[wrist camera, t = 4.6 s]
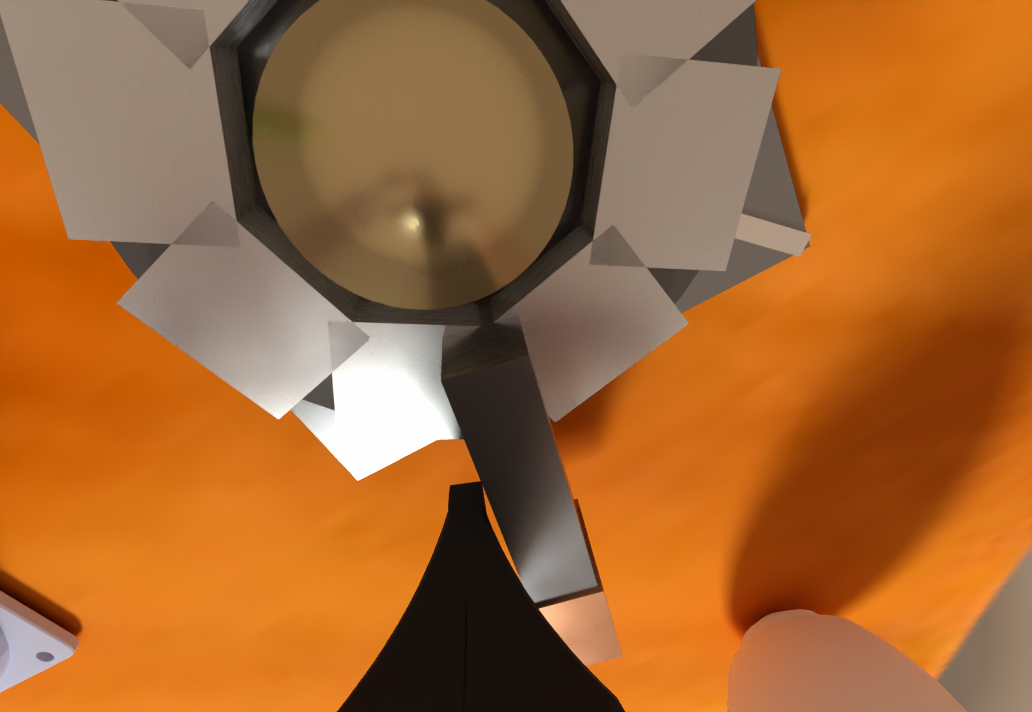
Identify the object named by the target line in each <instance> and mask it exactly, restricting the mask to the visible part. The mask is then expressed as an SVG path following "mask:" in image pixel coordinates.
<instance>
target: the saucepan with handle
mask: <svg viewBox="0 0 1032 712" xmlns="http://www.w3.org/2000/svg"><path fill="white" fill-rule="evenodd" d="M118 1H119V2H115V1H105V0H0V15H1V18H2V22H3V25H4V28H5V32H6V35H7V38H8V41H9V45H10V48H11V51H12V55H13V58H14V61H15V64H16V68H17V71H18V74H19V78H20V81H21V84H22V87H23V91H24V94H25V97H26V101H27V104H28V107H29V111H30V114H31V117H32V120H33V124H34V127H35V130H36V134H37V137H38V140H39V143H40V147H41V150H42V153H43V157H44V160H45V163H46V166H47V170H48V173H49V176H50V180H51V183H52V186H53V189H54V193H55V196H56V199H57V203H58V206H59V209H60V212H61V216H62V219H63V222H64V226H65V229H66V232H67V236H68V239H78V240H98V241H118V242H139V243H159V244H171V245H170V246H169V247H168V248H167V250H166V251H165V252H164V253H163V254H162V255H161V256H160V257H159V258H158V259H157V260H156V261H155V262H154V263H153V264H152V266H151V267H150V268H149V269H148V270H147V271H146V272H145V273H144V274H143V275H142V276H141V277H140V278H139V279H138V281H137V282H136V283H135V284H134V285H133V286H132V287H131V288H130V289H129V290H128V291H127V292H126V293H125V294H124V296H123V297H122V298H121V299H120V300H119V301H118V302H117V304H118V305H120V306H121V307H123V308H124V309H125V310H127V311H128V312H129V313H131V314H132V315H134V316H135V317H136V318H138V319H139V320H141V321H142V322H143V323H145V324H146V325H148V326H149V327H150V328H152V329H153V330H155V331H156V332H157V333H159V334H160V335H162V336H163V337H164V338H166V339H167V340H168V341H170V342H171V343H173V344H174V345H175V346H177V347H178V348H180V349H181V350H182V351H184V352H185V353H187V354H188V355H189V356H191V357H192V358H194V359H195V360H196V361H198V362H199V363H201V364H202V365H203V366H205V367H206V368H207V369H209V370H210V371H212V372H213V373H214V374H216V375H217V376H219V377H220V378H221V379H223V380H224V381H226V382H227V383H228V384H230V385H231V386H233V387H234V388H235V389H237V390H238V391H240V392H241V393H242V394H244V395H245V396H246V397H248V398H249V399H251V400H252V401H253V402H255V403H256V404H258V405H259V406H260V407H262V408H263V409H265V410H266V411H267V412H269V413H270V414H272V415H273V416H274V417H276V418H277V419H278V420H279V419H280V418H281V417H282V416H283V415H284V414H285V413H287V412H288V411H289V410H290V409H291V408H292V407H293V406H295V405H296V404H297V403H298V402H299V401H300V400H301V399H303V398H304V397H305V396H306V395H307V394H308V393H309V392H311V391H312V390H313V389H314V388H315V387H316V386H317V385H319V384H320V383H321V382H322V381H323V380H324V379H325V378H326V377H328V376H329V375H330V374H331V373H332V379H333V391H334V403H335V415H336V427H337V438H353V439H464V440H465V443H466V445H467V448H468V450H469V452H470V455H471V457H472V460H473V462H474V465H475V467H476V470H477V472H478V475H479V477H480V480H481V482H482V485H483V487H484V490H485V492H486V495H487V497H488V500H489V502H490V505H491V507H492V510H493V512H494V515H495V517H496V520H497V522H498V525H499V527H500V530H501V532H502V535H503V537H504V540H505V542H506V545H507V547H508V550H509V552H510V555H511V557H512V560H513V562H514V565H515V567H516V570H517V572H518V575H519V577H520V580H521V582H522V585H523V586H524V588H525V590H526V591H527V593H528V594H529V595H530V597H531V598H532V600H533V601H534V603H535V604H536V606H537V607H538V608H539V610H540V611H541V613H542V614H543V615H544V617H545V618H546V620H547V621H548V622H549V623H550V625H551V626H552V627H553V628H554V630H555V631H556V632H557V633H558V634H559V636H560V637H561V638H562V639H563V641H564V642H565V643H566V644H567V646H568V647H569V648H570V649H571V650H572V652H573V653H574V654H575V655H576V656H577V657H578V658H579V659H580V660H581V661H582V663H583V664H584V665H585V666H588V665H592V664H596V663H600V662H603V661H607V660H611V659H615V658H619V657H622V652H621V649H620V645H619V642H618V638H617V635H616V631H615V628H614V624H613V621H612V617H611V614H610V610H609V607H608V603H607V600H606V596H605V593H604V589H603V586H602V582H601V579H600V575H599V572H598V568H597V565H596V561H595V558H594V554H593V551H592V547H591V544H590V540H589V537H588V534H587V530H586V527H585V523H584V520H583V516H582V513H581V509H580V506H579V503H578V499H575V500H574V499H573V495H572V492H571V488H570V485H569V482H568V478H567V475H566V471H565V468H564V465H563V461H562V458H561V454H560V451H559V448H558V444H557V441H556V438H555V434H554V431H553V427H552V424H551V421H550V418H551V419H552V420H553V421H554V422H557V421H558V420H559V419H561V418H562V417H563V416H565V415H566V414H567V413H569V412H570V411H571V410H573V409H574V408H576V407H577V406H578V405H580V404H581V403H582V402H584V401H585V400H586V399H588V398H589V397H590V396H592V395H593V394H594V393H596V392H597V391H599V390H600V389H601V388H603V387H604V386H605V385H607V384H608V383H609V382H611V381H612V380H613V379H615V378H616V377H617V376H619V375H620V374H622V373H623V372H624V371H626V370H627V369H628V368H630V367H631V366H632V365H634V364H635V363H636V362H638V361H639V360H640V359H642V358H643V357H644V356H646V355H647V354H649V353H650V352H651V351H653V350H654V349H655V348H657V347H658V346H659V345H661V344H662V343H663V342H665V341H666V340H667V339H669V338H670V337H672V336H673V335H674V334H676V333H677V332H678V331H680V330H681V329H682V328H684V327H685V326H686V325H688V324H689V323H688V321H687V320H686V319H685V317H684V316H683V315H682V314H681V312H680V311H679V310H678V308H677V307H676V306H675V304H674V303H673V302H672V300H671V299H670V298H669V296H668V295H667V294H666V293H665V291H664V290H663V289H662V287H661V286H660V285H659V283H658V282H657V281H656V279H655V278H654V277H653V276H652V274H651V273H650V272H649V270H648V269H647V268H646V267H649V268H669V269H690V270H710V271H726V267H727V264H728V260H729V257H730V253H731V249H732V246H733V242H734V238H735V235H736V231H737V228H738V224H739V220H740V217H741V213H742V209H743V206H744V202H745V199H746V195H747V191H748V188H749V184H750V180H751V177H752V173H753V170H754V166H755V162H756V159H757V155H758V151H759V148H760V144H761V141H762V137H763V133H764V130H765V126H766V122H767V119H768V115H769V112H770V108H771V104H772V101H773V97H774V93H775V90H776V86H777V83H778V79H779V75H780V72H781V69H777V68H767V67H757V66H747V65H737V64H728V63H718V62H708V61H698V60H689V59H690V58H691V57H692V56H693V55H694V54H696V53H697V52H698V51H699V50H700V49H701V48H702V47H704V46H705V45H706V44H707V43H708V42H709V41H710V40H712V39H713V38H714V37H715V36H716V35H717V34H718V33H720V32H721V31H722V30H723V29H724V28H725V27H726V26H728V25H729V24H730V23H731V22H732V21H733V20H734V19H736V18H737V17H738V16H739V15H740V14H741V13H742V12H743V11H745V10H746V9H747V8H748V7H749V6H750V5H751V4H753V3H754V2H755V1H756V0H544V1H545V2H546V4H547V5H548V7H549V8H550V10H551V11H552V13H553V14H554V15H555V17H556V18H557V20H558V21H559V23H560V24H561V26H562V27H563V29H564V30H565V32H566V33H567V35H568V36H569V38H570V39H571V41H572V42H573V44H574V45H575V46H576V48H577V49H578V51H579V52H580V54H581V55H582V57H583V58H584V60H585V61H586V63H587V64H588V66H589V67H590V69H591V70H592V72H593V73H594V75H595V76H596V77H597V79H598V80H599V82H600V85H599V92H598V99H597V106H596V113H595V120H594V128H593V135H592V142H591V149H590V156H589V163H588V171H587V178H586V185H585V192H584V199H583V206H582V214H581V221H580V225H578V226H577V227H576V228H575V229H574V230H572V231H571V232H570V233H569V234H568V235H567V236H565V237H564V238H563V239H562V240H561V241H559V242H558V243H557V244H556V245H555V246H553V247H552V248H551V249H550V250H549V251H547V252H546V253H545V254H544V255H543V256H542V257H540V258H539V259H538V260H537V261H536V262H534V263H533V264H532V265H531V266H530V267H528V268H527V269H526V270H525V271H524V272H522V273H521V274H520V275H519V276H518V277H517V278H515V279H514V280H513V281H512V282H511V283H509V284H508V285H507V286H506V287H505V288H503V289H502V290H501V291H500V292H499V293H497V294H496V295H495V296H494V297H493V298H491V299H490V300H487V301H484V302H480V303H467V304H464V305H459V306H454V307H449V308H443V309H430V310H422V309H406V308H400V307H394V306H389V305H385V304H382V303H378V302H375V301H371V300H369V299H361V298H360V297H359V296H358V295H357V294H354V293H353V292H351V291H349V290H347V289H345V288H344V287H342V286H340V285H338V284H336V283H335V282H334V281H332V280H331V279H329V278H328V277H327V276H325V275H324V274H322V273H321V272H320V271H319V270H318V269H317V268H315V267H314V266H313V265H312V264H311V263H310V262H309V261H308V260H307V259H305V257H304V256H303V255H302V254H301V253H300V252H299V251H298V250H297V248H296V247H295V246H294V245H293V244H292V243H291V241H290V240H289V238H288V237H287V236H286V234H285V233H284V231H283V230H282V228H281V227H280V226H279V224H278V223H277V222H276V221H275V220H274V219H273V218H271V217H270V216H269V215H268V214H267V213H266V212H265V211H264V210H263V209H262V208H260V207H259V206H258V202H257V195H256V187H255V180H254V172H253V165H252V158H251V150H250V143H249V135H248V128H247V121H246V113H245V106H244V98H243V91H242V84H241V76H240V69H239V61H238V54H237V48H238V46H239V45H240V44H241V43H242V42H243V41H244V39H245V38H246V37H247V36H248V35H249V34H250V33H251V31H252V30H253V29H254V28H255V27H256V26H257V24H258V23H259V22H260V21H261V20H262V19H263V18H264V16H265V15H266V14H267V13H268V12H269V11H270V9H271V8H272V7H273V6H274V5H275V4H276V2H277V1H278V0H118Z"/></svg>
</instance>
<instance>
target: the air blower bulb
mask: <svg viewBox="0 0 1032 712" xmlns="http://www.w3.org/2000/svg"><path fill="white" fill-rule="evenodd" d="M727 712H966V711H965V710H964V708H963V707H962V706H961V705H960V704H959V703H958V702H957V701H956V700H955V699H954V698H953V697H952V696H951V695H950V694H949V693H948V692H947V691H946V690H945V689H944V688H943V687H942V686H941V685H940V684H939V683H938V682H937V681H936V680H935V679H934V678H933V677H932V676H930V675H929V674H928V673H927V672H926V671H925V670H924V669H922V668H921V667H920V666H919V665H918V664H916V663H915V662H914V661H913V660H911V659H910V658H909V657H908V656H906V655H905V654H904V653H902V652H901V651H899V650H898V649H897V648H895V647H894V646H892V645H891V644H889V643H888V642H886V641H885V640H883V639H881V638H880V637H878V636H877V635H875V634H873V633H872V632H870V631H868V630H866V629H865V628H863V627H861V626H859V625H858V624H856V623H854V622H852V621H850V620H848V619H846V618H842V617H839V616H834V615H819V614H817V613H816V612H814V611H810V610H804V609H795V610H788V611H779V612H774V613H771V614H768V615H766V616H764V617H762V618H761V619H760V620H759V621H758V622H756V623H755V624H754V625H752V626H751V627H750V628H749V629H748V630H747V631H746V633H745V634H744V636H743V638H742V641H741V646H740V649H739V650H738V651H737V653H736V654H735V656H734V657H733V659H732V662H731V665H730V668H729V676H728V692H727Z"/></svg>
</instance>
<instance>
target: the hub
mask: <svg viewBox="0 0 1032 712" xmlns="http://www.w3.org/2000/svg"><path fill="white" fill-rule="evenodd" d="M105 1H115V2H119V1H118V0H105ZM237 54H238V61H239V69H240V76H241V84H242V91H243V98H244V106H245V113H246V121H247V128H248V135H249V143H250V150H251V158H252V165H253V172H254V180H255V187H256V195H257V202H258V206H259V207H260V208H262V209H263V210H264V211H265V212H266V213H267V214H268V215H269V216H270V217H271V218H273V219H274V220H275V221H276V222H277V223H278V224H279V226H280V227H281V228H282V230H283V231H284V233H285V234H286V236H287V237H288V238H289V240H290V241H291V243H292V244H293V245H294V246H295V247H296V248H297V250H298V251H299V252H300V253H301V254H302V255H303V256H304V257H305V259H307V260H308V261H309V262H310V263H311V264H312V265H313V266H314V267H315V268H317V269H318V270H319V271H320V272H321V273H322V274H324V275H325V276H327V277H328V278H329V279H331V280H332V281H334V282H335V283H336V284H338V285H340V286H342V287H344V288H345V289H347V290H349V291H351V292H353V293H354V294H357V295H358V296H359V297H360V298H361V299H369V300H371V301H375V302H378V303H382V304H385V305H389V306H394V307H400V308H406V309H422V310H430V309H443V308H449V307H454V306H459V305H464V304H467V303H480V302H484V301H487V300H490V299H491V298H493V297H494V296H495V295H496V294H497V293H499V292H500V291H501V290H502V289H503V288H505V287H506V286H507V285H508V284H509V283H511V282H512V281H513V280H514V279H515V278H517V277H518V276H519V275H520V274H521V273H522V272H524V271H525V270H526V269H527V268H528V267H530V266H531V265H532V264H533V263H534V262H536V261H537V260H538V259H539V258H540V257H542V256H543V255H544V254H545V253H546V252H547V251H549V250H550V249H551V248H552V247H553V246H555V245H556V244H557V243H558V242H559V241H561V240H562V239H563V238H564V237H565V236H567V235H568V234H569V233H570V232H571V231H572V230H574V229H575V228H576V227H577V226H578V225H580V221H581V214H582V206H583V199H584V192H585V185H586V178H587V171H588V163H589V156H590V149H591V142H592V135H593V128H594V120H595V113H596V106H597V99H598V92H599V85H600V82H599V80H598V79H597V77H596V76H595V75H594V73H593V72H592V70H591V69H590V67H589V66H588V64H587V63H586V61H585V60H584V58H583V57H582V55H581V54H580V52H579V51H578V49H577V48H576V46H575V45H574V44H573V42H572V41H571V39H570V38H569V36H568V35H567V33H566V32H565V30H564V29H563V27H562V26H561V24H560V23H559V21H558V20H557V18H556V17H555V15H554V14H553V13H552V11H551V10H550V8H549V7H548V5H547V4H546V2H545V1H544V0H278V1H277V2H276V4H275V5H274V6H273V7H272V8H271V9H270V11H269V12H268V13H267V14H266V15H265V16H264V18H263V19H262V20H261V21H260V22H259V23H258V24H257V26H256V27H255V28H254V29H253V30H252V31H251V33H250V34H249V35H248V36H247V37H246V38H245V39H244V41H243V42H242V43H241V44H240V45H239V46H238V48H237ZM689 60H698V61H708V62H718V63H728V64H737V65H747V66H757V67H761V64H760V61H759V57H758V52H757V40H756V27H755V14H754V3H753V4H751V5H750V6H749V7H748V8H747V9H746V10H745V11H743V12H742V13H741V14H740V15H739V16H738V17H737V18H736V19H734V20H733V21H732V22H731V23H730V24H729V25H728V26H726V27H725V28H724V29H723V30H722V31H721V32H720V33H718V34H717V35H716V36H715V37H714V38H713V39H712V40H710V41H709V42H708V43H707V44H706V45H705V46H704V47H702V48H701V49H700V50H699V51H698V52H697V53H696V54H694V55H693V56H692V57H691V58H690V59H689ZM0 103H1V104H2V105H3V106H4V107H5V108H6V109H7V110H8V112H9V113H10V114H11V115H12V116H13V117H14V118H15V119H16V120H17V121H18V122H19V123H20V124H21V125H22V126H23V127H24V128H25V129H26V131H27V132H28V133H29V134H30V135H31V136H32V137H33V138H34V139H35V140H36V141H37V142H38V143H39V140H38V137H37V134H36V130H35V127H34V124H33V120H32V117H31V114H30V111H29V107H28V104H27V101H26V97H25V94H24V91H23V87H22V84H21V81H20V78H19V74H18V71H17V68H16V64H15V61H14V58H13V55H12V51H11V48H10V45H9V41H8V38H7V35H6V32H5V28H4V25H3V22H2V18H1V15H0ZM39 144H40V143H39ZM811 235H812V234H810V233H807V232H806V230H805V226H804V222H803V219H802V215H801V211H800V208H799V204H798V200H797V197H796V193H795V189H794V186H793V182H792V178H791V175H790V171H789V167H788V163H787V160H786V156H785V152H784V149H783V145H782V141H781V138H780V134H779V130H778V127H777V123H776V119H775V116H774V112H773V108H772V105H771V108H770V112H769V115H768V119H767V122H766V126H765V130H764V133H763V137H762V141H761V144H760V148H759V151H758V155H757V159H756V162H755V166H754V170H753V173H752V177H751V180H750V184H749V188H748V191H747V195H746V199H745V202H744V206H743V209H742V213H741V217H740V220H739V224H738V228H737V231H736V235H735V238H734V242H733V246H732V249H731V253H730V257H729V260H728V264H727V267H726V271H710V270H690V269H669V268H649V267H646V268H647V269H648V270H649V272H650V273H651V274H652V276H653V277H654V278H655V279H656V281H657V282H658V283H659V285H660V286H661V287H662V289H663V290H664V291H665V293H666V294H667V295H668V296H669V298H670V299H671V300H672V302H673V303H674V304H675V306H676V307H677V308H678V310H679V311H680V312H681V313H682V312H684V311H686V310H688V309H690V308H692V307H694V306H696V305H698V304H700V303H702V302H704V301H706V300H708V299H709V298H711V297H713V296H715V295H717V294H719V293H721V292H723V291H725V290H727V289H729V288H731V287H733V286H735V285H737V284H738V283H740V282H742V281H744V280H746V279H748V278H750V277H752V276H754V275H756V274H758V273H760V272H762V271H764V270H765V269H767V268H769V267H771V266H773V265H775V264H777V263H779V262H781V261H783V260H785V259H787V258H789V257H791V256H793V255H795V256H799V257H800V255H801V254H802V252H803V250H804V249H806V248H808V247H810V244H809V239H810V237H811ZM110 242H111V243H112V244H113V246H114V247H115V249H116V250H117V252H118V253H119V254H120V256H121V257H122V259H123V260H124V261H125V263H126V264H127V266H128V267H129V268H130V270H131V271H132V273H133V274H134V275H135V276H136V277H137V278H138V279H139V278H140V277H141V276H142V275H143V274H144V273H145V272H146V271H147V270H148V269H149V268H150V267H151V266H152V264H153V263H154V262H155V261H156V260H157V259H158V258H159V257H160V256H161V255H162V254H163V253H164V252H165V251H166V250H167V248H168V247H169V246H170V245H171V244H159V243H139V242H118V241H110ZM291 410H292V411H293V412H294V414H295V415H296V416H297V417H298V418H299V419H300V420H301V421H302V422H303V423H304V424H305V425H306V426H307V427H308V428H309V429H310V430H311V431H312V433H313V434H314V435H315V436H316V437H317V438H318V439H319V440H320V441H321V442H322V443H323V444H324V445H325V446H326V447H327V448H328V449H329V451H330V452H331V453H332V454H333V455H334V456H335V457H336V458H337V459H338V460H339V461H340V462H341V463H342V464H343V465H344V466H345V467H346V468H347V470H348V471H349V472H350V473H351V474H352V475H353V476H354V477H355V478H356V479H357V480H360V479H362V478H364V477H366V476H368V475H370V474H371V473H373V472H375V471H377V470H379V469H381V468H383V467H385V466H387V465H389V464H391V463H393V462H395V461H397V460H399V459H400V458H402V457H404V456H406V455H408V454H410V453H412V452H414V451H416V450H418V449H420V448H422V447H424V446H426V445H428V444H429V443H431V442H433V441H435V440H437V439H353V438H337V427H336V415H335V403H334V391H333V379H332V373H331V374H330V375H329V376H328V377H326V378H325V379H324V380H323V381H322V382H321V383H320V384H319V385H317V386H316V387H315V388H314V389H313V390H312V391H311V392H309V393H308V394H307V395H306V396H305V397H304V398H303V399H301V400H300V401H299V402H298V403H297V404H296V405H295V406H293V407H292V408H291Z"/></svg>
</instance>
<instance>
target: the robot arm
mask: <svg viewBox="0 0 1032 712" xmlns="http://www.w3.org/2000/svg"><path fill="white" fill-rule="evenodd" d="M78 646H79V641H78V638H77V637H76V636H74V635H73V634H71V633H70V632H68V631H66V630H65V629H63V628H61V627H60V626H58V625H57V624H55V623H53V622H52V621H50V620H48V619H47V618H45V617H43V616H42V615H40V614H38V613H37V612H35V611H33V610H32V609H30V608H28V607H27V606H25V605H23V604H22V603H20V602H19V601H17V600H15V599H14V598H12V597H10V596H9V595H7V594H5V593H4V592H2V591H0V692H2V691H4V690H6V689H8V688H10V687H12V686H14V685H16V684H18V683H20V682H22V681H24V680H26V679H28V678H30V677H32V676H34V675H36V674H38V673H40V672H42V671H44V670H45V669H47V668H49V667H51V666H53V665H55V664H57V663H59V662H61V661H63V660H65V659H67V658H69V657H71V656H72V655H73V654H74V652H75V651H76V649H77V648H78ZM337 712H625V711H624V709H623V707H622V706H621V704H620V702H619V700H618V699H617V697H616V696H615V695H614V694H613V693H612V692H611V691H610V690H609V689H608V688H606V687H605V686H604V685H603V684H602V683H601V682H600V681H599V680H598V678H597V677H596V676H595V675H594V674H593V673H592V672H591V671H590V670H589V669H588V668H587V667H586V666H585V665H584V664H583V663H582V661H581V660H580V659H579V658H578V657H577V656H576V655H575V654H574V653H573V652H572V650H571V649H570V648H569V647H568V646H567V644H566V643H565V642H564V641H563V639H562V638H561V637H560V636H559V634H558V633H557V632H556V631H555V630H554V628H553V627H552V626H551V625H550V623H549V622H548V621H547V620H546V618H545V617H544V615H543V614H542V613H541V611H540V610H539V608H538V607H537V606H536V604H535V603H534V601H533V600H532V598H531V597H530V595H529V594H528V593H527V591H526V590H525V588H524V586H523V585H522V583H521V582H520V580H519V578H518V577H517V575H516V573H515V572H514V570H513V568H512V566H511V565H510V563H509V561H508V559H507V557H506V556H505V554H504V552H503V550H502V548H501V546H500V544H499V542H498V539H497V537H496V535H495V533H494V531H493V529H492V526H491V524H490V522H489V519H488V516H487V513H486V506H485V500H484V493H483V486H482V482H481V481H478V482H471V483H464V484H457V485H450V490H449V503H448V513H447V516H446V519H445V523H444V526H443V529H442V531H441V534H440V537H439V539H438V542H437V545H436V547H435V550H434V552H433V555H432V557H431V560H430V562H429V564H428V566H427V568H426V571H425V573H424V575H423V577H422V579H421V582H420V584H419V586H418V588H417V590H416V592H415V594H414V596H413V598H412V600H411V602H410V603H409V605H408V607H407V609H406V611H405V613H404V614H403V616H402V618H401V620H400V621H399V623H398V625H397V626H396V628H395V630H394V631H393V633H392V635H391V636H390V638H389V639H388V641H387V643H386V644H385V646H384V648H383V649H382V651H381V652H380V654H379V655H378V657H377V658H376V660H375V661H374V663H373V664H372V665H371V667H370V668H369V670H368V671H367V672H366V674H365V675H364V676H363V678H362V679H361V681H360V682H359V683H358V685H357V686H356V687H355V689H354V690H353V691H352V693H351V694H350V696H349V697H348V698H347V700H346V701H345V702H344V703H343V705H342V706H341V707H340V709H339V710H338V711H337Z"/></svg>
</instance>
